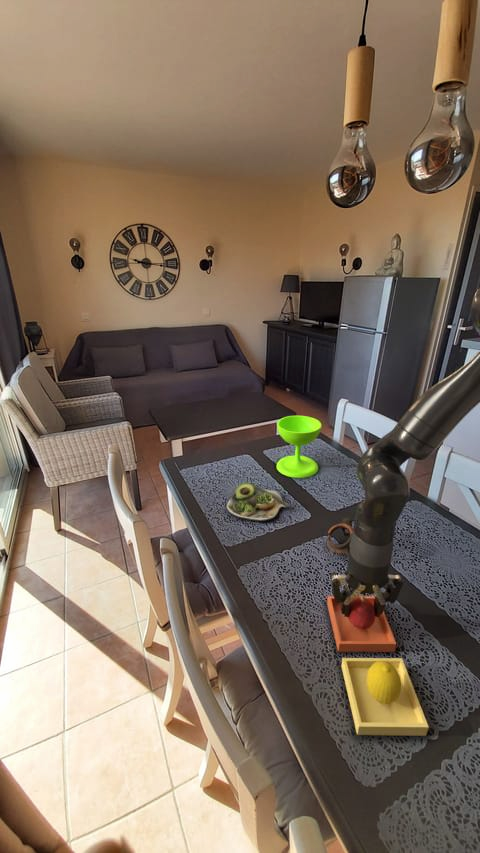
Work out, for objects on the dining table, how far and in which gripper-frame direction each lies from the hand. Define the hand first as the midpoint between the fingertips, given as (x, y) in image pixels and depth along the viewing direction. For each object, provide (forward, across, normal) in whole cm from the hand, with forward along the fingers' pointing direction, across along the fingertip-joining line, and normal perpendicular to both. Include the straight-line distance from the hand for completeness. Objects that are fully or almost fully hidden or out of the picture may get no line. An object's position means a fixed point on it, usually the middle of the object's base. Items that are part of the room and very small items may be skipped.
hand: (360, 613), depth 75 cm
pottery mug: (+4, +3, +24) cm, 25 cm away
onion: (+4, 0, 0) cm, 4 cm away
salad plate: (+4, -22, +43) cm, 49 cm away
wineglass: (+4, -5, +67) cm, 67 cm away
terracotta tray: (+4, 0, 0) cm, 4 cm away
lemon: (+4, 0, -14) cm, 14 cm away
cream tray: (+4, 0, -14) cm, 15 cm away
